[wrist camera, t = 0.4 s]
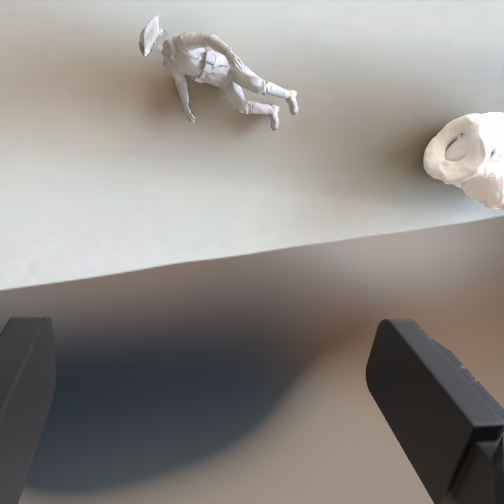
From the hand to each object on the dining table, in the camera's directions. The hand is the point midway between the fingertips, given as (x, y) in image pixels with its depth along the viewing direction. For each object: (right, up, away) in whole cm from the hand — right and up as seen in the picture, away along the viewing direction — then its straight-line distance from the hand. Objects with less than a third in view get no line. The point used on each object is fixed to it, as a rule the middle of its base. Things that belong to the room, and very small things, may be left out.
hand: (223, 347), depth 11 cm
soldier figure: (-2, +16, +24) cm, 29 cm away
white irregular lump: (+22, +12, +31) cm, 40 cm away
